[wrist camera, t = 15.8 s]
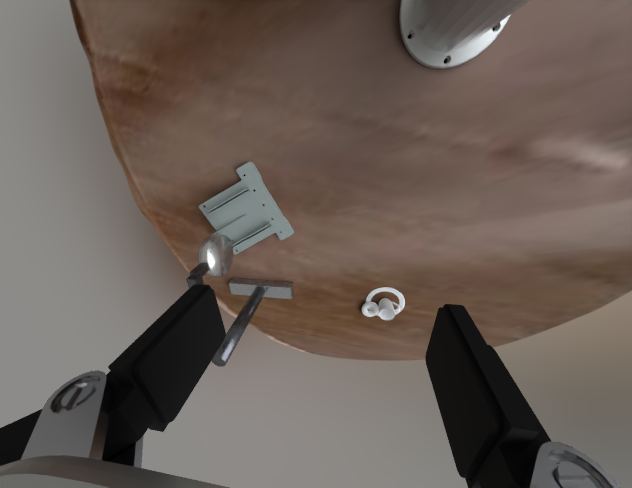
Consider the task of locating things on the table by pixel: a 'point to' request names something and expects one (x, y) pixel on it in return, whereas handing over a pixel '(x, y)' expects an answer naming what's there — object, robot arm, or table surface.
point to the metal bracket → (246, 211)
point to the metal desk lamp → (234, 288)
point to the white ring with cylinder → (383, 305)
